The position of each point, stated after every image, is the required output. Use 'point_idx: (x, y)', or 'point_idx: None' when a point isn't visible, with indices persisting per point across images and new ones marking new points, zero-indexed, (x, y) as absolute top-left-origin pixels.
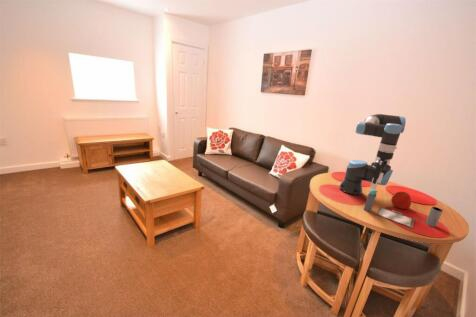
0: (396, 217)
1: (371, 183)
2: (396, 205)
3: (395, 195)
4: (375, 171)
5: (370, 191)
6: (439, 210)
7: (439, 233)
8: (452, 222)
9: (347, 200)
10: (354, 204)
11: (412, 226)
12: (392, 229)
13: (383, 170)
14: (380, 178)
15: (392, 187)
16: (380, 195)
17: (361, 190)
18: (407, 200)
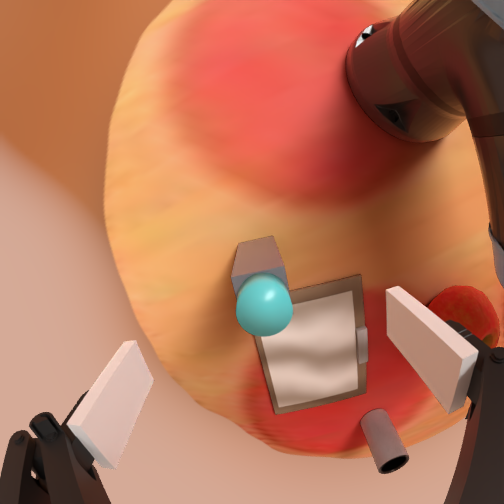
0: (310, 362)
1: (104, 372)
2: None
3: (465, 315)
4: (4, 493)
5: (241, 290)
6: (400, 460)
7: (329, 444)
8: (438, 421)
9: (255, 130)
10: (247, 181)
11: (290, 410)
12: (190, 382)
13: (462, 450)
14: (413, 354)
15: None
16: (486, 213)
17: (429, 136)
18: None
